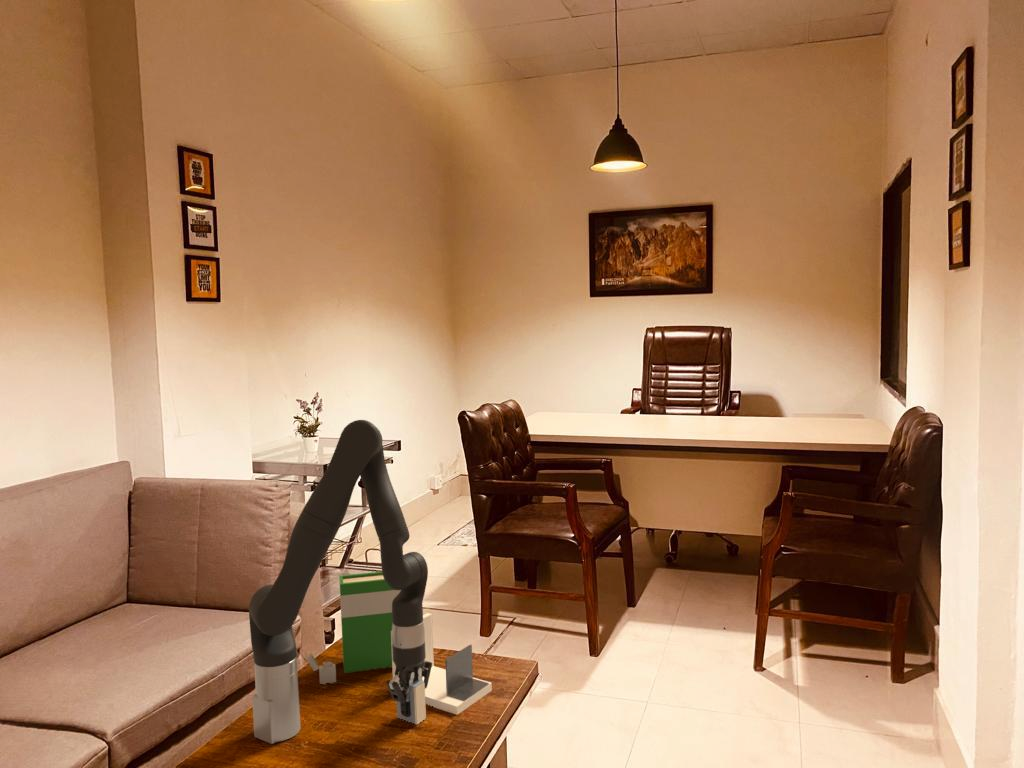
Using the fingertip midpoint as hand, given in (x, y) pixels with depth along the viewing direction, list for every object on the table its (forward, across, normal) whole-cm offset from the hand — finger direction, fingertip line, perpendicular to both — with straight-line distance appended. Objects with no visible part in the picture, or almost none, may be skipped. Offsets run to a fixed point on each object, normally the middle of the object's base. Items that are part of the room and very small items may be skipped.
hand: (411, 712), depth 184 cm
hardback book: (+2, +18, +28) cm, 33 cm away
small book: (+2, 0, 0) cm, 2 cm away
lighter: (+2, +2, +32) cm, 32 cm away
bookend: (0, +15, -5) cm, 16 cm away
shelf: (+2, +14, +2) cm, 14 cm away
